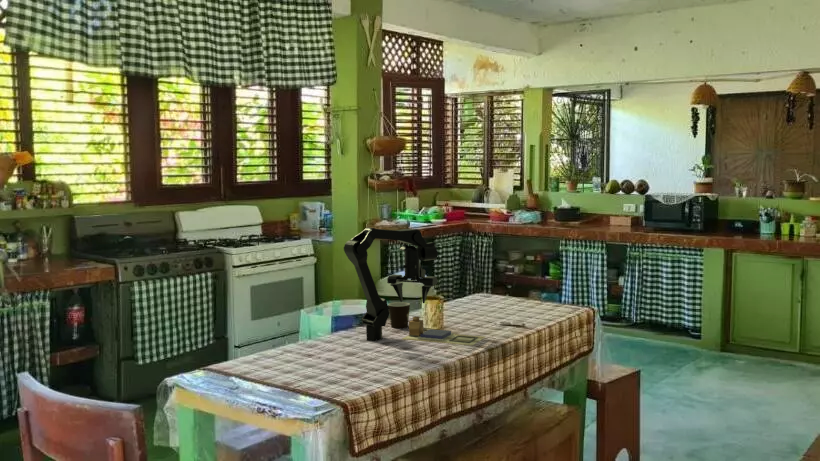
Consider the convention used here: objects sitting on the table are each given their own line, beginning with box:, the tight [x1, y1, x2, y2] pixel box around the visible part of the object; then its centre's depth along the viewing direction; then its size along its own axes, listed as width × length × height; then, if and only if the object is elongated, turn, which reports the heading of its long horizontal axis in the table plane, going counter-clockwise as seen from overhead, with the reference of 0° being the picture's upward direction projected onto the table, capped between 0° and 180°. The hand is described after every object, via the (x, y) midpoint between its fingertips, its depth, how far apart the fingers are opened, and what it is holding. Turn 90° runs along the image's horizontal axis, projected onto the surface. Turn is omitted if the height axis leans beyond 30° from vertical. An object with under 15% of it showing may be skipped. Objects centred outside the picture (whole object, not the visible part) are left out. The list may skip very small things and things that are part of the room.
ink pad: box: [418, 328, 455, 341], centre depth 281 cm, size 10×10×2 cm
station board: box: [401, 331, 486, 347], centre depth 280 cm, size 14×28×1 cm, turn 64°
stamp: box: [408, 316, 424, 337], centre depth 285 cm, size 4×4×7 cm
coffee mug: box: [387, 301, 411, 330], centre depth 302 cm, size 12×9×10 cm
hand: (412, 302), depth 290 cm, fingers open, 9 cm apart
